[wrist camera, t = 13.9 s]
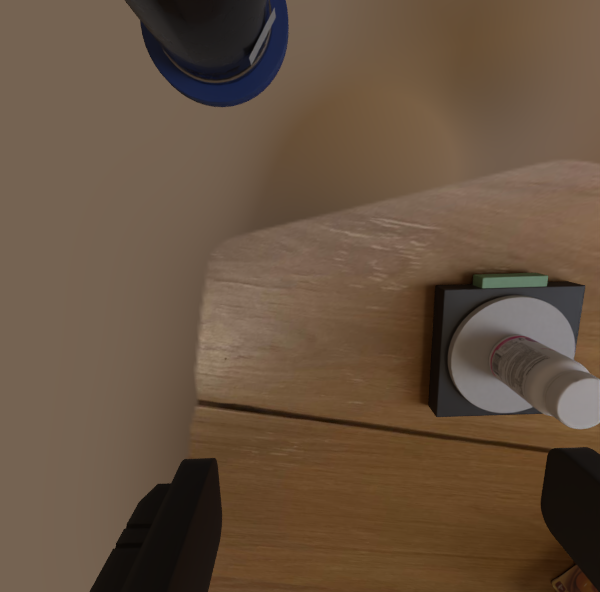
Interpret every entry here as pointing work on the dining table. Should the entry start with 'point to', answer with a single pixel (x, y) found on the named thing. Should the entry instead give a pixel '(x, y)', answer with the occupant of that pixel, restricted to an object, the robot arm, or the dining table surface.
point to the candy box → (573, 582)
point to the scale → (495, 337)
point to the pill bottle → (547, 380)
